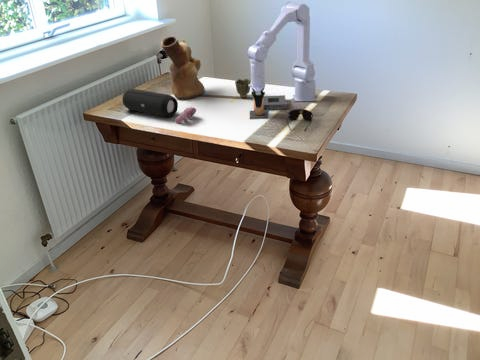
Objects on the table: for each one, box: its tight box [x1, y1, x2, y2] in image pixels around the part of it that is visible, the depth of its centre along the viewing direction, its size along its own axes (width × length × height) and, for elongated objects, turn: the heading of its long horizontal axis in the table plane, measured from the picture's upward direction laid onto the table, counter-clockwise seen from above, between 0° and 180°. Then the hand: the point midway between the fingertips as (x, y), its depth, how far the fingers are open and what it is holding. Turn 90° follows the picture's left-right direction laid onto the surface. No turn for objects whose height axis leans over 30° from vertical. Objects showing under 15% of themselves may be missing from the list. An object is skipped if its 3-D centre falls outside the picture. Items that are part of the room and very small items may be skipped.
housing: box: [264, 94, 287, 111], centre depth 202 cm, size 11×11×2 cm
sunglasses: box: [286, 108, 314, 132], centre depth 182 cm, size 10×12×5 cm
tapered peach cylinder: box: [252, 97, 264, 115], centre depth 191 cm, size 4×4×9 cm
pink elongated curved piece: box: [175, 106, 197, 124], centre depth 192 cm, size 10×5×7 cm, turn 149°
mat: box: [249, 110, 269, 120], centre depth 194 cm, size 8×8×1 cm
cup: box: [234, 78, 251, 99], centre depth 211 cm, size 8×7×8 cm
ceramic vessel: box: [160, 36, 206, 100], centre depth 210 cm, size 16×22×30 cm
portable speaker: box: [121, 88, 179, 118], centre depth 200 cm, size 26×10×10 cm, turn 61°
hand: (258, 104), depth 192 cm, fingers open, 5 cm apart
